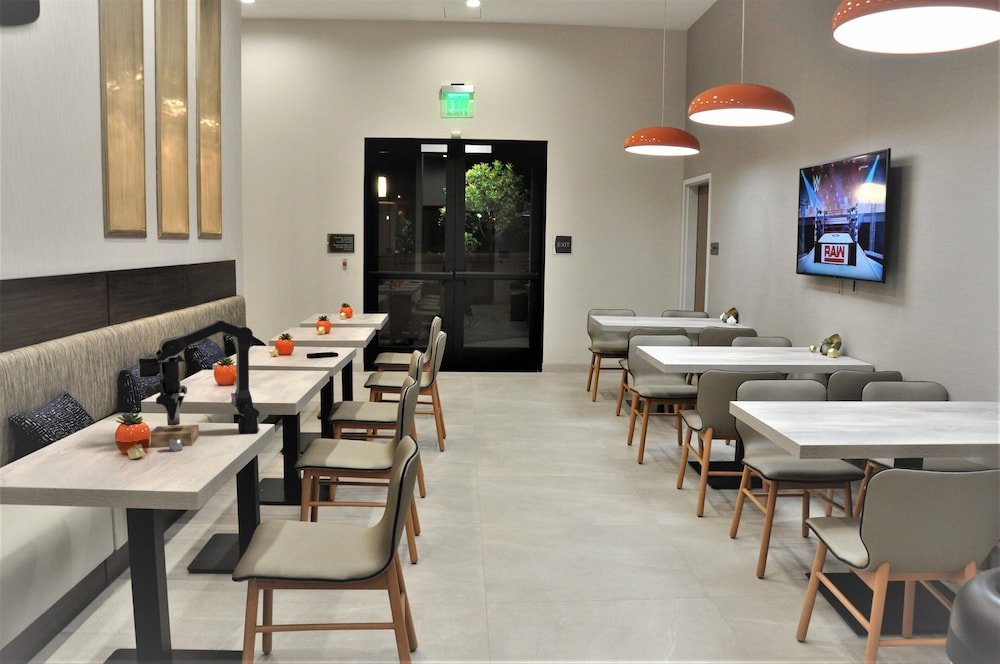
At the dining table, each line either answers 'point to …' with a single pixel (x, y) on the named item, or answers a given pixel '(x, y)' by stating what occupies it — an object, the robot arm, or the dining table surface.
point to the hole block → (174, 435)
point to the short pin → (175, 444)
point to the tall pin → (176, 419)
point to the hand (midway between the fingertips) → (173, 418)
